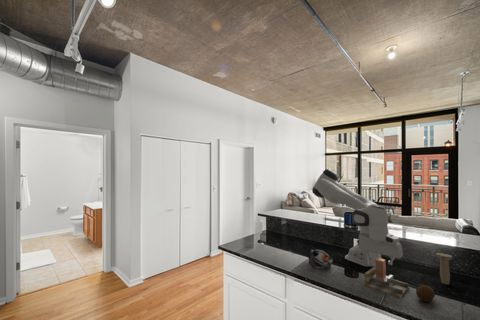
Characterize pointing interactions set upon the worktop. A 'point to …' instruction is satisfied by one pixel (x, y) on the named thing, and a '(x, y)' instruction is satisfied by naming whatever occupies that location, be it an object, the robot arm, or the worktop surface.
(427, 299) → the potato
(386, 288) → the frame
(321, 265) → the lucky cat figurine
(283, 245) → the worktop surface
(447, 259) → the handle
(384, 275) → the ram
